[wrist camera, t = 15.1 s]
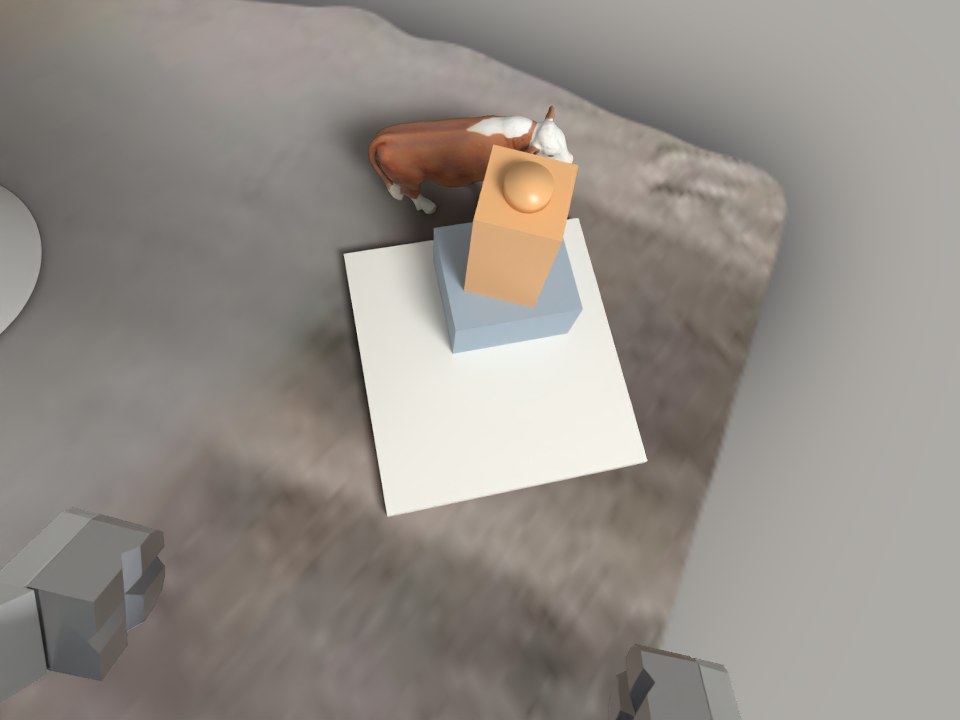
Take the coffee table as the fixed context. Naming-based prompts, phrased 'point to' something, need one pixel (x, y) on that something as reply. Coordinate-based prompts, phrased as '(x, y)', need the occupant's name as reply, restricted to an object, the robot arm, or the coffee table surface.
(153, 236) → the coffee table surface
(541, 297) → the base block
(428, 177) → the bull figurine
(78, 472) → the coffee table surface
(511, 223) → the tall brick
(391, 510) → the baseplate
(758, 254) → the coffee table surface
